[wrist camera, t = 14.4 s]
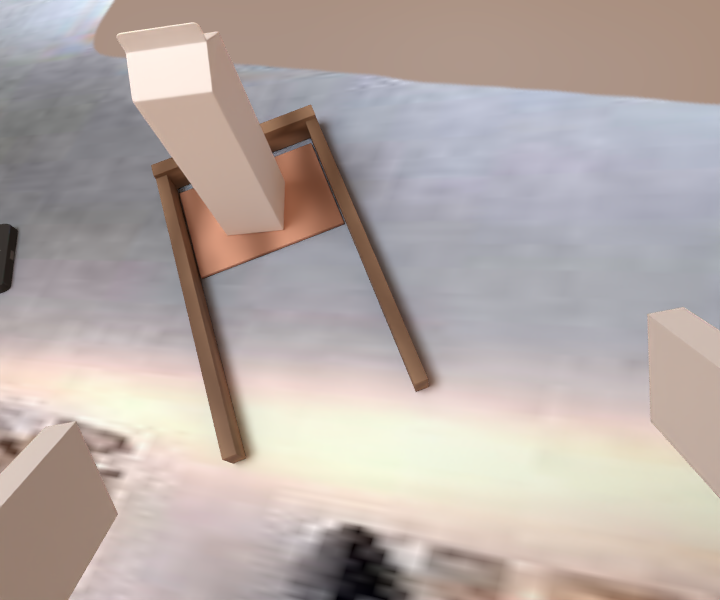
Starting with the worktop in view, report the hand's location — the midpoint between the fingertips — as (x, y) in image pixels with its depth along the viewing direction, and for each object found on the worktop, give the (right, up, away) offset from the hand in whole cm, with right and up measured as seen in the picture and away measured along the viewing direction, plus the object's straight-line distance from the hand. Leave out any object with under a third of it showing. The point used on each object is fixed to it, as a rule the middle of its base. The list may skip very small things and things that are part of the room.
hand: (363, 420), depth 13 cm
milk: (-11, +12, +44) cm, 47 cm away
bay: (-8, +6, +41) cm, 42 cm away
